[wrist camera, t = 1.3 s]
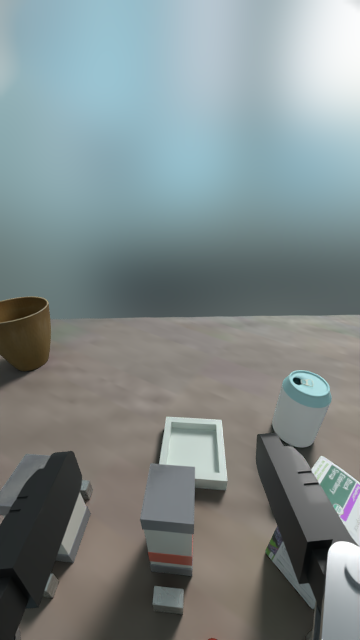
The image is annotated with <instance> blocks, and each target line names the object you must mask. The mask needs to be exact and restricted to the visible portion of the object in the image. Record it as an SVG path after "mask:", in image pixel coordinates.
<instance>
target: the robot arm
mask: <svg viewBox="0 0 360 640" xmlns="http://www.w3.org/2000/svg"><path fill="white" fill-rule="evenodd" d="M256 464H257V469H258V473H259V476H260V479H261V482H262V484H263V487H264V490H265V493H266V495H267V498H268V501H269V504H270V506H271V509H272V512H273V514H274V517H275V520H276V523H277V525H278V528H279V531H280V534H281V536H282V539H283V542H284V545H285V547H286V550H287V553H288V556H289V558H290V561H291V564H292V566H293V569H294V572H295V575H296V577H297V580H298V583H299V584H306V583H309V584H310V587H311V589H312V592H313V594H314V597H315V599H316V601H315V611H314V621H313V632H312V640H360V546H359V545H358V544H357V543H356V542H355V541H354V539H353V538H352V537H351V535H350V534H349V532H348V530H347V529H346V527H345V525H344V524H343V522H342V520H341V519H340V517H339V515H338V514H337V512H336V510H335V509H334V507H333V505H332V504H331V502H330V500H329V499H328V497H327V495H326V494H325V492H324V490H323V489H322V487H321V485H319V482H318V480H317V479H316V477H315V475H314V473H312V470H311V468H310V467H309V465H308V463H307V462H306V460H305V458H304V457H303V456H302V455H301V454H300V453H299V452H298V451H297V450H296V449H295V448H294V447H293V446H283V444H282V442H281V440H280V439H279V437H278V435H277V434H276V433H267V434H258V435H257V447H256ZM81 485H82V475H81V472H80V469H79V466H78V463H77V460H76V457H75V455H74V452H72V451H68V452H57V453H53V454H52V455H51V456H50V458H49V459H48V461H47V463H46V465H45V467H44V468H41V469H38V470H37V471H36V472H35V473H34V474H33V475H32V476H31V477H30V478H29V479H28V480H27V481H26V483H25V484H24V486H23V488H22V489H21V491H20V493H19V494H18V496H17V499H16V500H15V501H14V503H13V504H12V506H11V508H10V510H9V513H8V514H7V515H6V516H5V518H4V520H3V521H2V523H1V525H0V640H21V635H20V627H19V624H20V621H21V618H22V616H23V613H24V611H25V609H26V608H37V607H39V605H40V602H41V599H42V596H43V593H44V591H45V588H46V585H47V582H48V579H49V577H50V574H51V571H52V568H53V565H54V563H55V560H56V557H57V554H58V552H59V549H60V546H61V543H62V540H63V538H64V535H65V532H66V529H67V526H68V524H69V521H70V518H71V515H72V513H73V510H74V507H75V504H76V501H77V499H78V496H79V493H80V490H81Z"/></svg>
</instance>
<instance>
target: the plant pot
mask: <svg viewBox="0 0 360 640" xmlns="http://www.w3.org/2000/svg"><path fill="white" fill-rule="evenodd" d="M50 339H51V324H50V312H49V304H48V301H47V300H46V299H44V298H41V297H19V298H12V299H7V300H3V301H0V355H1V356H2V357H3V358H5V359H6V360H7V361H8V362H9V363H10V364H11V365H13V366H14V367H15V368H17V369H18V370H20V371H30V370H34V369H37V368H39V367H41V366H42V365H44V364H45V363H46V362H47V361H48V357H49V351H50Z"/></svg>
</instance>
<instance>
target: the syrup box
mask: <svg viewBox="0 0 360 640" xmlns="http://www.w3.org/2000/svg"><path fill="white" fill-rule="evenodd" d="M311 470H312V473H314V475H315V477H316V479H317V480H318V482H319V485H321V487H322V489H323V490H324V492H325V494H326V495H327V497H328V499H329V500H330V502H331V504H332V505H333V507H334V509H335V510H336V512H337V514H338V515H339V517H340V519H341V520H342V522H343V524H344V525H345V527H346V529H347V530H348V532H349V534H350V535H351V537H352V538H353V539H354V541H355V542H356V543H357V544H358V545H359V546H360V482H358V481H357V480H356V479H354V478H353V477H352V476H350V475H349V474H348V473H346V472H345V471H344V470H342V469H341V468H339V467H338V466H337V465H335V464H334V463H332V462H331V461H329V460H328V459H326V458H325V457H323V456H320V458H319V459H318V461H317V462H316V463H315V465H314V466H313V468H312V469H311ZM265 553H266V554H267V555H268V556H269V558H270V559H271V560H272V561H273V563H274V564H275V565H276V566H277V567H278V569H279V570H280V571H281V572H282V573H283V575H284V576H285V577H286V578H287V580H288V581H289V582H290V583H291V584H292V586H293V587H294V588H295V589H296V590H297V592H298V593H299V594H300V595H301V596H302V598H303V599H304V600H305V601H306V602H307V604H308V605H309V606H310V607H311V608H312V609H313V610H314V609H315V601H316V599H315V597H314V594H313V592H312V589H311V587H310V584H309V583H306V584H299V583H298V580H297V577H296V575H295V572H294V569H293V566H292V564H291V561H290V558H289V556H288V553H287V550H286V547H285V545H284V542H283V539H282V536H281V534H280V531H279V528H278V526H277V528H276V530H275V532H274V534H273V536H272V538H271V540H270V542H269V544H268V547H267V549H266V551H265Z"/></svg>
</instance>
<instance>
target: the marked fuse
mask: <svg viewBox="0 0 360 640" xmlns="http://www.w3.org/2000/svg"><path fill="white" fill-rule="evenodd" d="M194 496H195V467H190V466H176V465H163V464H150V470H149V475H148V480H147V485H146V491H145V496H144V501H143V507H142V512H141V517H140V521H141V526H142V529H144V532H145V537H146V542H147V547H148V555H149V560H150V568H151V572H160V573H168V574H177V575H186V576H192V565H193V534H194Z"/></svg>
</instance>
